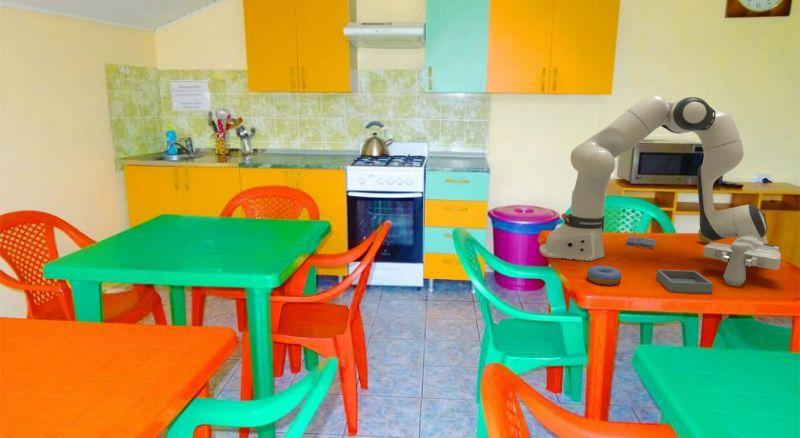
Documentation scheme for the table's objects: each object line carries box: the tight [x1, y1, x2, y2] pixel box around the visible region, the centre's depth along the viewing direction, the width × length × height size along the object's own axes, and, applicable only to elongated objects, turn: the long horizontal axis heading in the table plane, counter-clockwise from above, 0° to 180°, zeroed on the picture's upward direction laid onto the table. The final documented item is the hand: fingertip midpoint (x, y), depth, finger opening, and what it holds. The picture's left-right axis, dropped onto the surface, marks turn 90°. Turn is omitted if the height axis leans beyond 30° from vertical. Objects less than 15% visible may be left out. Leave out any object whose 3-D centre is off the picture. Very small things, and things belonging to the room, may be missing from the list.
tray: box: [655, 269, 714, 295], centre depth 162 cm, size 12×12×3 cm
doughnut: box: [586, 265, 623, 286], centre depth 166 cm, size 10×10×5 cm
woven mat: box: [624, 235, 657, 250], centre depth 207 cm, size 10×11×2 cm
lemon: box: [697, 228, 713, 244], centre depth 207 cm, size 6×6×8 cm
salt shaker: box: [723, 241, 748, 288], centre depth 163 cm, size 6×6×13 cm
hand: (736, 261), depth 162 cm, fingers open, 4 cm apart
